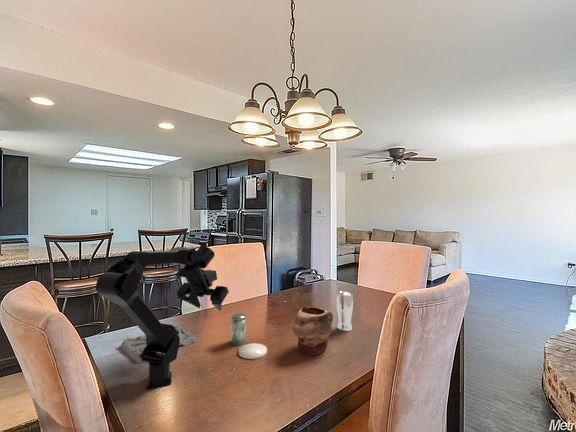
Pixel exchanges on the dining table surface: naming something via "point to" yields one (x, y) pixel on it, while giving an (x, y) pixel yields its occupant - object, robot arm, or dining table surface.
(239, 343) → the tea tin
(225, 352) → the dining table surface
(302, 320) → the decorative planter
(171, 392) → the dining table surface
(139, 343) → the wall plaque
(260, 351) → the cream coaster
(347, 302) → the beer glass
